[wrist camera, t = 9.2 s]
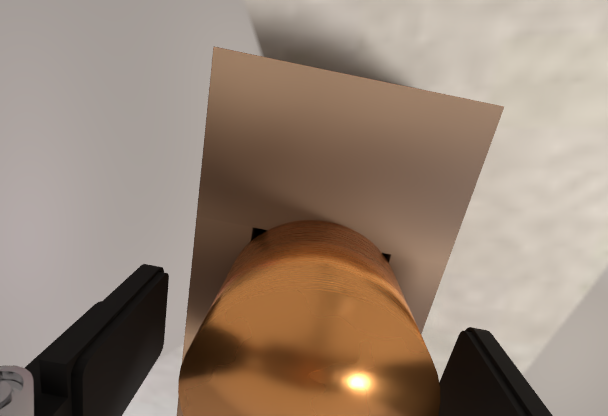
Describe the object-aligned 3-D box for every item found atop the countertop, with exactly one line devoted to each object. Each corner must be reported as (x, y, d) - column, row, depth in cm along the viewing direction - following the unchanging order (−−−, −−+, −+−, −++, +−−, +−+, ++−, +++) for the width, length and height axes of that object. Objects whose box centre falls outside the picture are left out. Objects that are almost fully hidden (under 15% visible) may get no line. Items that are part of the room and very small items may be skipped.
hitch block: (252, 67, 16) (213, 46, 10) (437, 105, 16) (504, 106, 10) (215, 341, 20) (175, 433, 15) (356, 368, 21) (371, 469, 15)
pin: (263, 172, 17) (190, 263, 7) (387, 196, 17) (479, 320, 7) (246, 282, 19) (169, 470, 9) (357, 303, 19) (398, 512, 9)
